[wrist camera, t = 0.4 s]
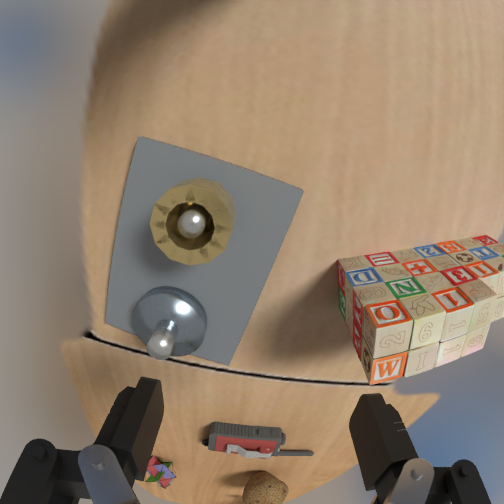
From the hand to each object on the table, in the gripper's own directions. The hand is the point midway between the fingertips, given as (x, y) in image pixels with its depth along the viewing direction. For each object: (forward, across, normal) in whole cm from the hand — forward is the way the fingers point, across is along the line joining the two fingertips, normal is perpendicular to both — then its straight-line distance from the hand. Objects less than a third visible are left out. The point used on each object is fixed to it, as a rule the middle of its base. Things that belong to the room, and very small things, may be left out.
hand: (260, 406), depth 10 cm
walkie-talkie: (+23, -5, +34) cm, 41 cm away
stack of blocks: (+20, -19, 0) cm, 28 cm away
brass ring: (+16, +5, -4) cm, 18 cm away
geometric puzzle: (+23, +15, +49) cm, 56 cm away
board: (+20, +7, +2) cm, 21 cm away
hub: (+19, +9, +9) cm, 23 cm away
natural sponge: (+24, -7, +49) cm, 55 cm away
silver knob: (+19, +5, -4) cm, 20 cm away
